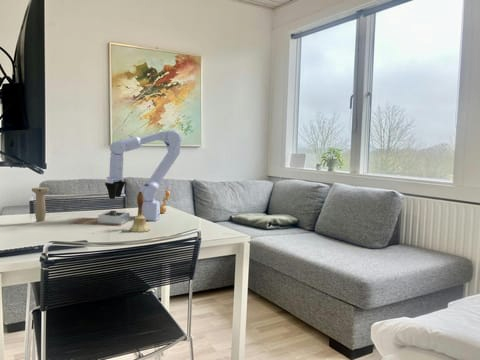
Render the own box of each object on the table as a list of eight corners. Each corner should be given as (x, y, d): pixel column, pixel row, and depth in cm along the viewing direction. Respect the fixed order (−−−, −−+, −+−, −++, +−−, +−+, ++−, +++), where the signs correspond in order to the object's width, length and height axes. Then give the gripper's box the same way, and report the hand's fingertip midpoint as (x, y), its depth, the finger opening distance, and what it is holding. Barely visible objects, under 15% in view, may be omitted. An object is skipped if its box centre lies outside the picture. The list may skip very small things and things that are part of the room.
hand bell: (127, 228, 167) (128, 190, 166) (147, 227, 171) (148, 190, 169) (131, 232, 160) (131, 193, 158) (151, 231, 163) (152, 193, 162)
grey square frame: (129, 220, 179) (129, 212, 178) (121, 224, 169) (121, 216, 169) (107, 219, 179) (107, 211, 179) (98, 223, 170) (98, 215, 169)
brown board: (130, 222, 179) (130, 209, 179) (120, 228, 166) (120, 214, 166) (82, 219, 180) (82, 206, 180) (68, 225, 167) (68, 211, 167)
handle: (48, 223, 170) (48, 188, 168) (31, 224, 167) (31, 188, 166) (49, 221, 174) (49, 187, 173) (32, 222, 172) (32, 187, 170)
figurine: (156, 211, 208) (157, 188, 207) (167, 211, 211) (168, 188, 210) (160, 214, 201) (161, 190, 200) (172, 214, 204) (172, 190, 202)
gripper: (113, 166, 188) (112, 195, 189) (101, 168, 173) (100, 199, 174) (128, 167, 187) (126, 196, 188) (117, 169, 173) (116, 200, 174)
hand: (115, 197), depth 181 cm, fingers open, 7 cm apart
